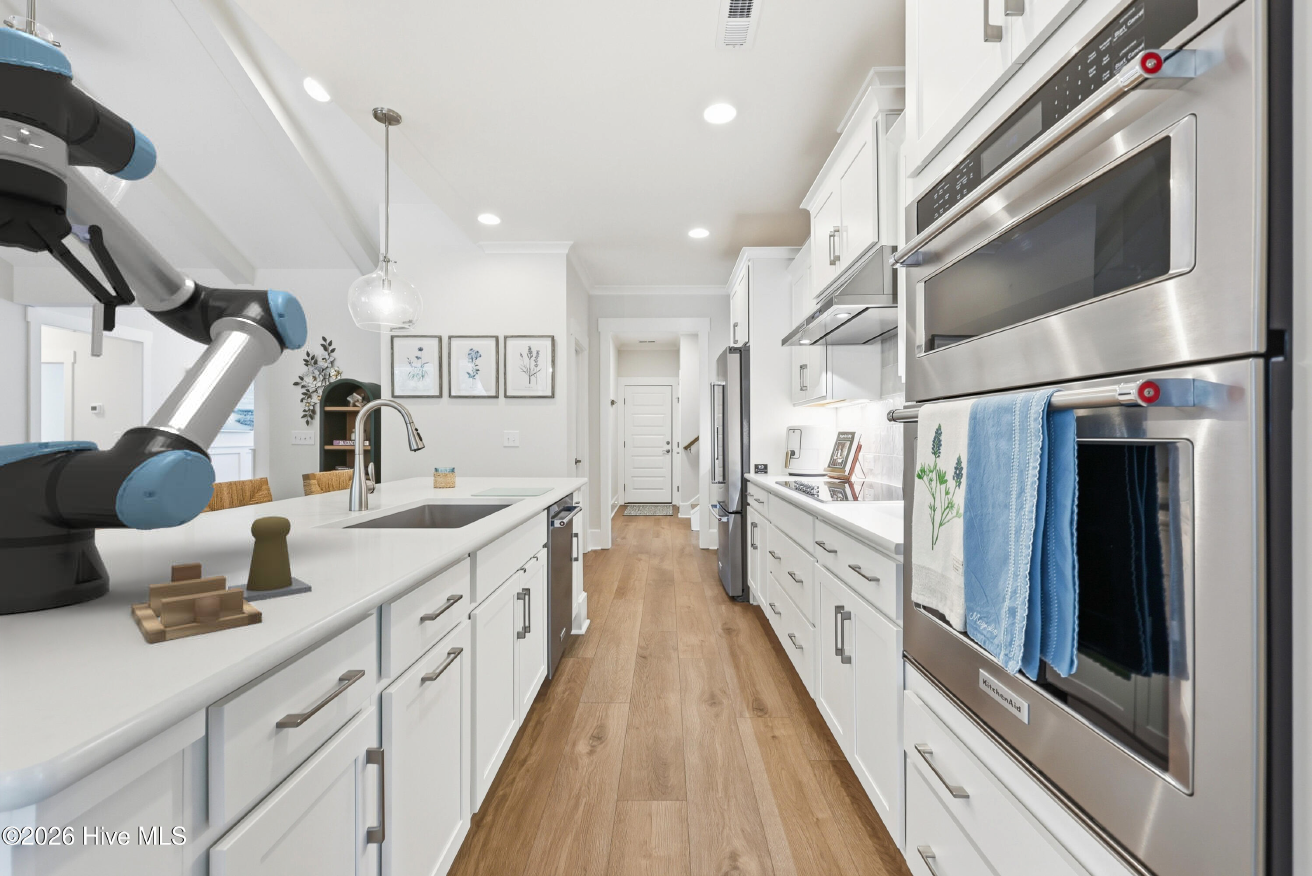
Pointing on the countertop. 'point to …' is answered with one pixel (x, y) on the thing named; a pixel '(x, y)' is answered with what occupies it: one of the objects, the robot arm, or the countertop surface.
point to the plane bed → (192, 606)
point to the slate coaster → (274, 591)
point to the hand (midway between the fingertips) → (14, 347)
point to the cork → (270, 555)
